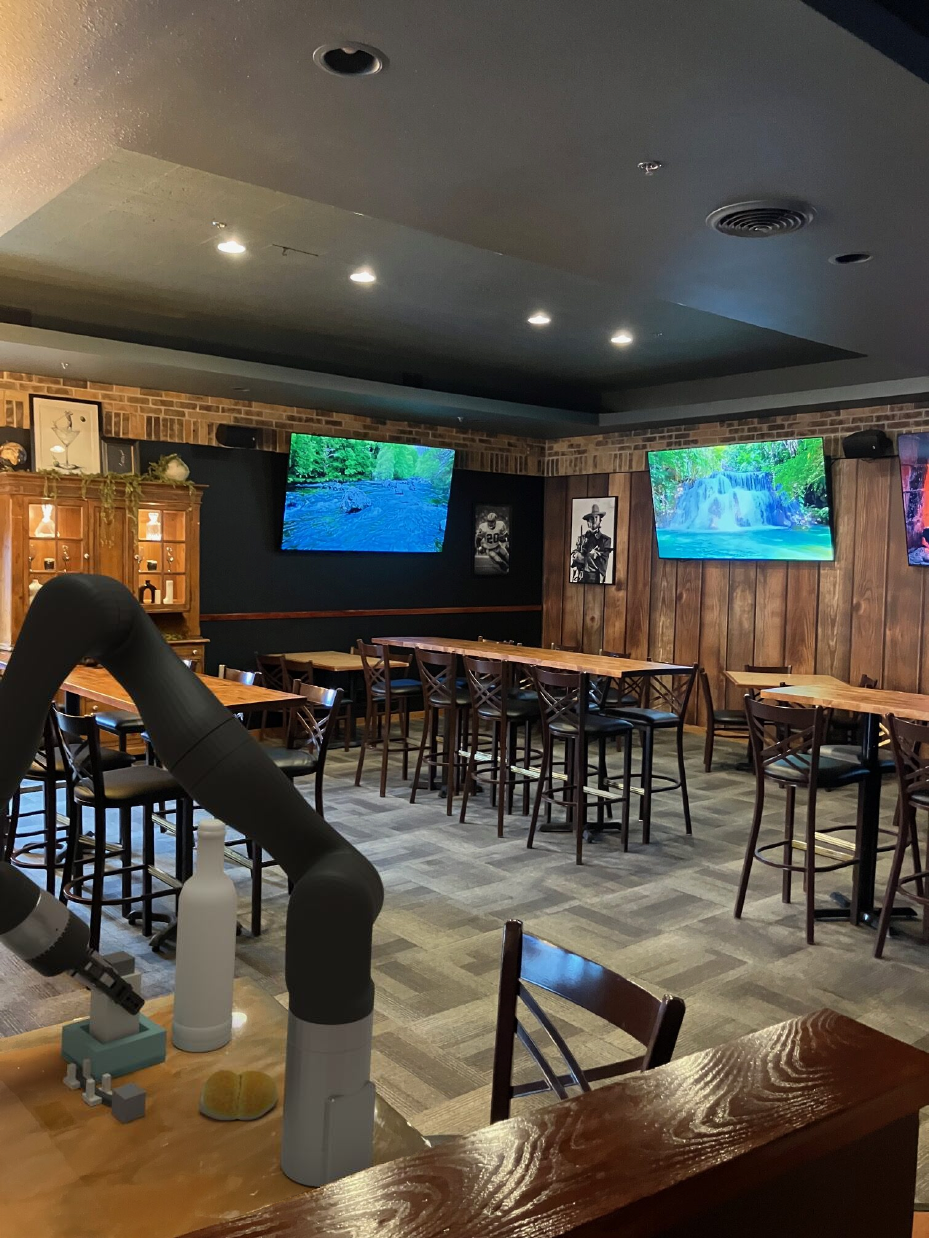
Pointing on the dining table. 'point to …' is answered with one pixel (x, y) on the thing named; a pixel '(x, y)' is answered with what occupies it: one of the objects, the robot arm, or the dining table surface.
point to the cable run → (107, 1093)
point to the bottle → (205, 948)
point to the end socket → (114, 1049)
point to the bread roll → (238, 1095)
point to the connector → (111, 1017)
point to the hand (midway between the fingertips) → (129, 1001)
